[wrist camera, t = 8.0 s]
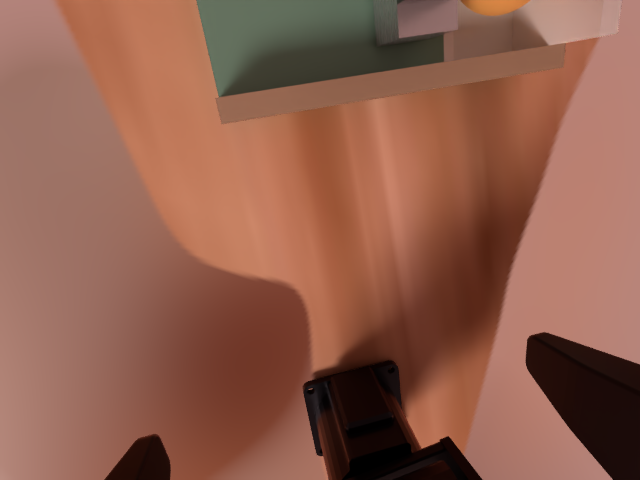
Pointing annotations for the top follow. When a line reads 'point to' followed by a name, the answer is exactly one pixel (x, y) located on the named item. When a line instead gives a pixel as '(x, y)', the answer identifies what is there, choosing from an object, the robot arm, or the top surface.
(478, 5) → the ball
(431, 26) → the block
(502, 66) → the pitch
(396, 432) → the robot arm
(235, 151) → the top surface
